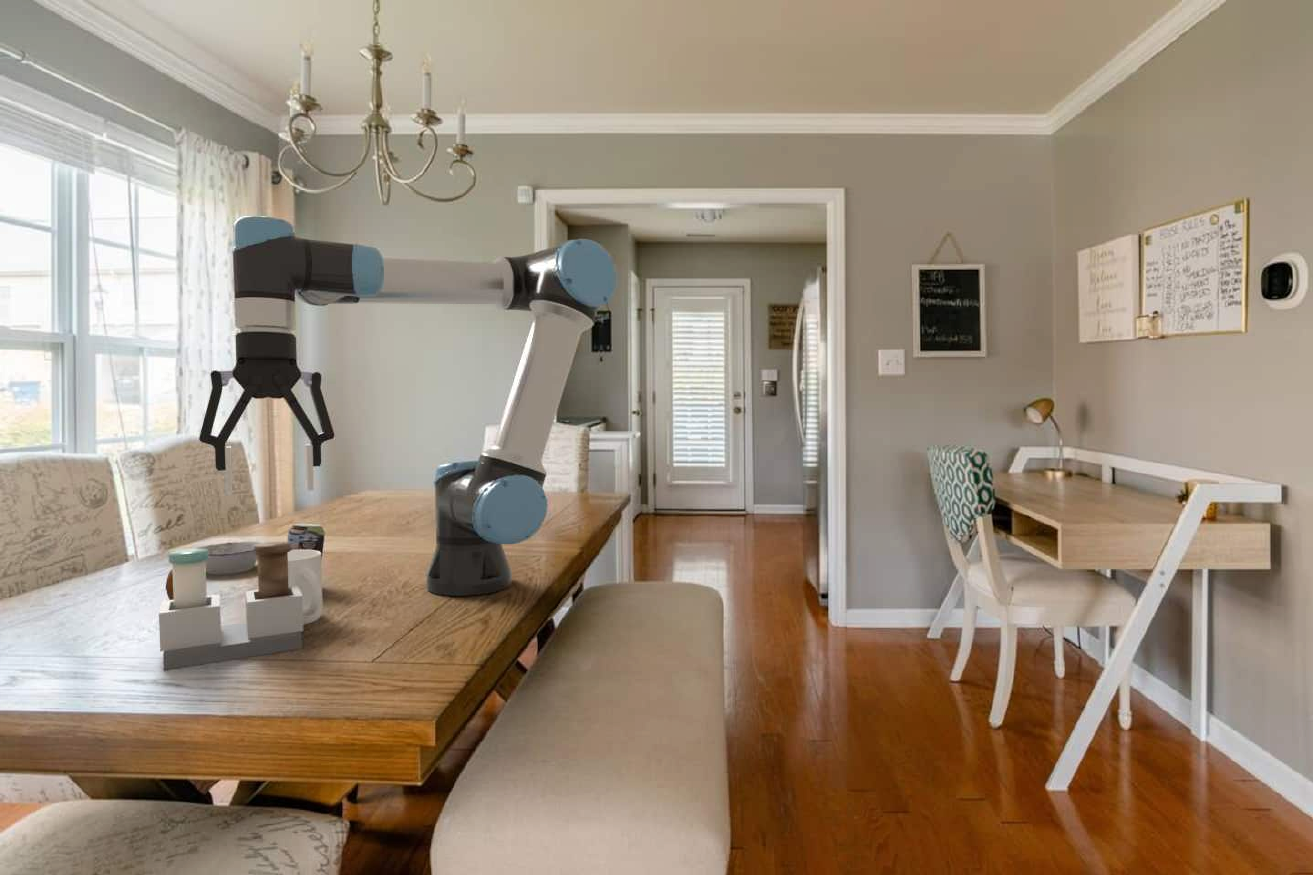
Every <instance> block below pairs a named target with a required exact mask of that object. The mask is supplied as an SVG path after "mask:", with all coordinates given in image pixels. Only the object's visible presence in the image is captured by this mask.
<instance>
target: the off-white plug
mask: <svg viewBox="0 0 1313 875" xmlns="http://www.w3.org/2000/svg"><path fill="white" fill-rule="evenodd" d="M167 555H168V557H167V558H168V563H169V564H171V566H172V568H171V570H173V598H174V610H177V609H185V608H193V607H201V606H207V596H208V594H207V593H208V592H207V572H206V561H205V560H207V559H208V558H209V550H207V549H196V548H191V549H190V548H189V549H180V550H176V551H172V552H169V553H168V554H167Z"/></svg>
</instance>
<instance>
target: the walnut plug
mask: <svg viewBox="0 0 1313 875" xmlns="http://www.w3.org/2000/svg"><path fill="white" fill-rule="evenodd" d="M260 543H261V544H257V545H255V546H254V554H256V555H257V556H258V559H257V583H258V585H257V586H258V589H257V590H259V599H267V598H275V597H283V596H289V586H288V552H289V551H291V545H290V543H289V542H287V541H269V542H260Z"/></svg>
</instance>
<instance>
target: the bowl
mask: <svg viewBox="0 0 1313 875" xmlns="http://www.w3.org/2000/svg"><path fill="white" fill-rule="evenodd" d="M261 543H262V542H259V541H237V542H236V541H234V542H233V541H232V542H229V541H228V542H225V543H223V542H222V543H215V544H207V545H202V546H199V547H196V548H195V549H207V550H209V558H208V559H207V560H205V561H206V574H210V575H216V576H217V575H218V576H219V575H231V574H232V575H233V574H238V573H243V572H247V571H251V570H252V569H253V568H254V566H255V565H256V563H257V562H258V556H257V555H256V554H254V546H255V545H257V544H261Z"/></svg>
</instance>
